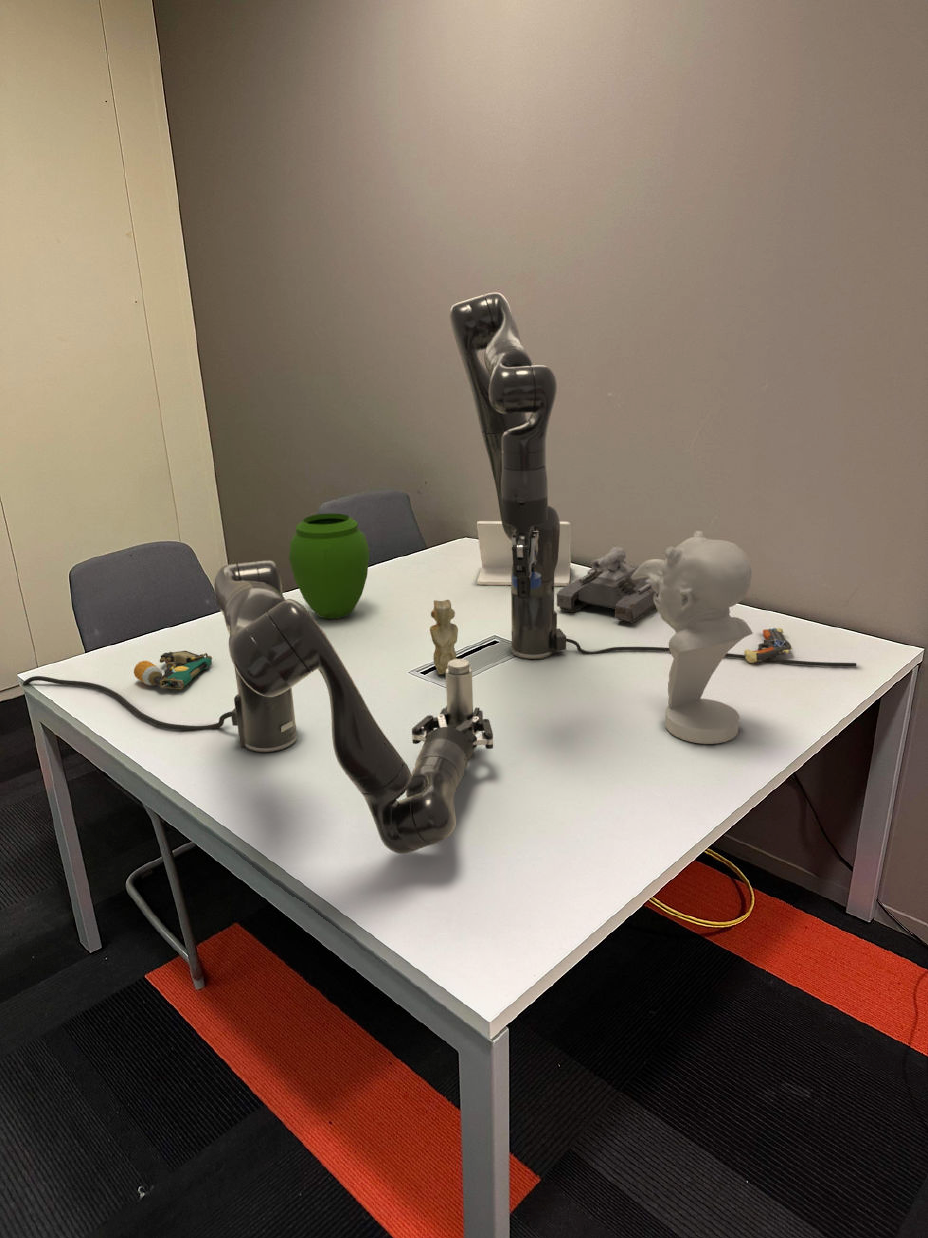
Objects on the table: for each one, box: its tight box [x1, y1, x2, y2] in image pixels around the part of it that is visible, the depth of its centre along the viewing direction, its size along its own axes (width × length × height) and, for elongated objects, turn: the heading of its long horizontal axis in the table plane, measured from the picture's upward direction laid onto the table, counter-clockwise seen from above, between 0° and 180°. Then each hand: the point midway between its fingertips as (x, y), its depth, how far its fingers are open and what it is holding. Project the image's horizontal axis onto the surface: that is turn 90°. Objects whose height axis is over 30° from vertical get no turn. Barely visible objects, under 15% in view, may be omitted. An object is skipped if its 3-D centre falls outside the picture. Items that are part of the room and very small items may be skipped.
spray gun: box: [133, 650, 213, 690], centre depth 180 cm, size 4×17×15 cm
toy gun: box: [743, 627, 794, 664], centre depth 185 cm, size 3×19×10 cm
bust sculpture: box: [631, 530, 754, 745], centre depth 151 cm, size 16×24×35 cm, turn 28°
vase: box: [288, 512, 370, 620], centre depth 209 cm, size 20×20×24 cm
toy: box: [556, 546, 656, 624], centre depth 212 cm, size 25×20×15 cm
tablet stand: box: [476, 520, 572, 587], centre depth 236 cm, size 18×25×17 cm
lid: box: [512, 571, 541, 589], centre depth 144 cm, size 5×5×2 cm
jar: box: [445, 658, 475, 758], centre depth 144 cm, size 4×4×17 cm
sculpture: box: [429, 599, 459, 675], centre depth 177 cm, size 6×7×15 cm
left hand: (463, 711), depth 147 cm, fingers closed on jar, 4 cm apart
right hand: (526, 591), depth 145 cm, fingers closed on lid, 5 cm apart
